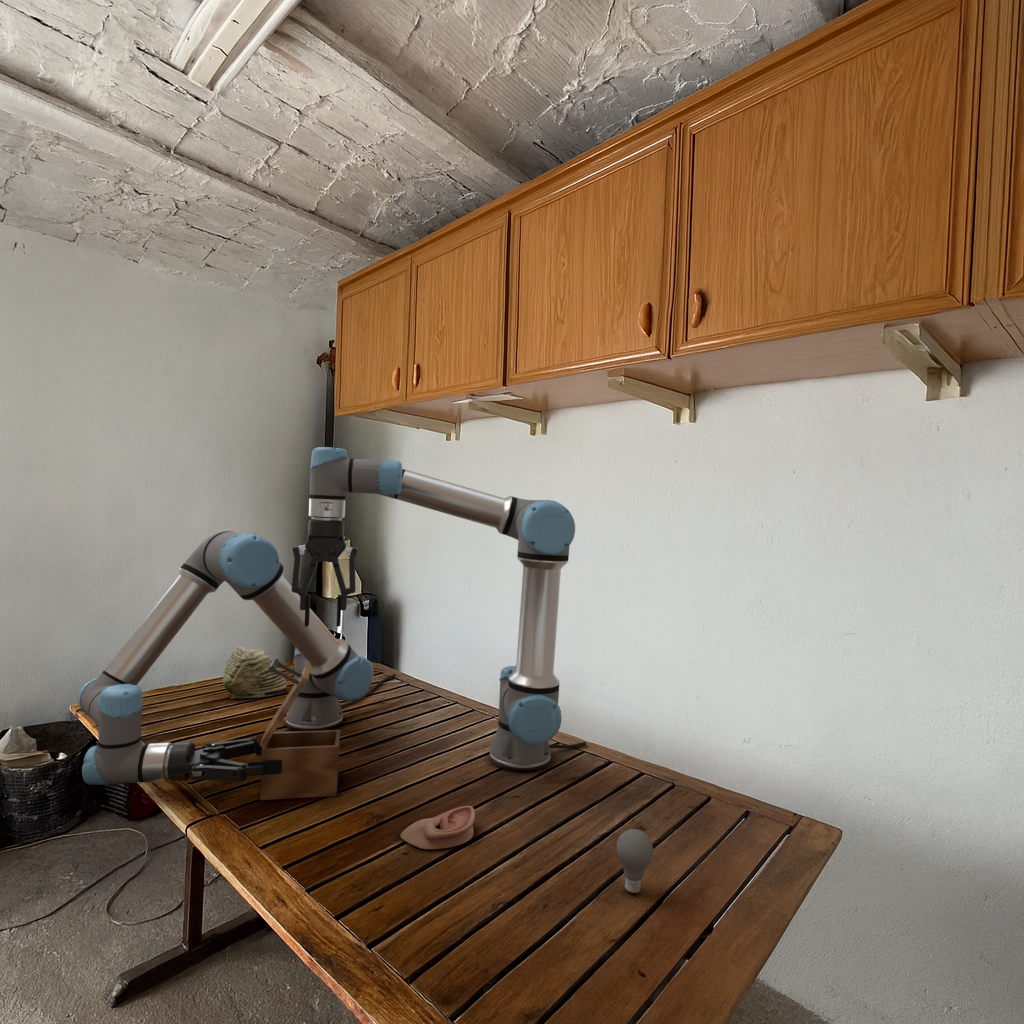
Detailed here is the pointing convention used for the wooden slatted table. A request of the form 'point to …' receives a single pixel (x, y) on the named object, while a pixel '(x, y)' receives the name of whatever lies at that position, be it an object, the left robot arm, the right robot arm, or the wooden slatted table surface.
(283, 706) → the lid
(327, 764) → the chest
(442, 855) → the wooden slatted table surface
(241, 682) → the fossil
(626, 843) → the light bulb
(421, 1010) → the wooden slatted table surface
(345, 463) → the right robot arm
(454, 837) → the anatomical model
